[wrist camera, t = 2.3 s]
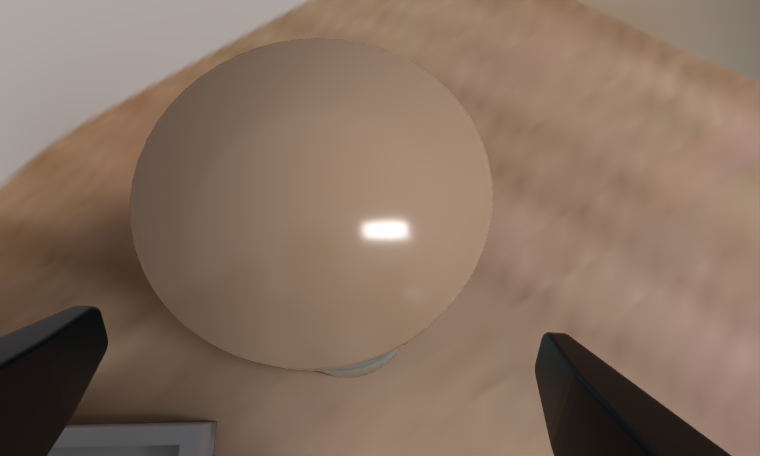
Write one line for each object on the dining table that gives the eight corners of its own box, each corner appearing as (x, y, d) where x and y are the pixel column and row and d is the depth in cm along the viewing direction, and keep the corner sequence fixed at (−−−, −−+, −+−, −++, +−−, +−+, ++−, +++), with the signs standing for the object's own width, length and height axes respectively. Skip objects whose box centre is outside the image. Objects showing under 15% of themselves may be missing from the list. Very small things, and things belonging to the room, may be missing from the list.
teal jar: (417, 381, 18) (512, 364, 6) (279, 384, 17) (96, 371, 6) (411, 250, 19) (476, 38, 8) (287, 252, 19) (159, 37, 8)
